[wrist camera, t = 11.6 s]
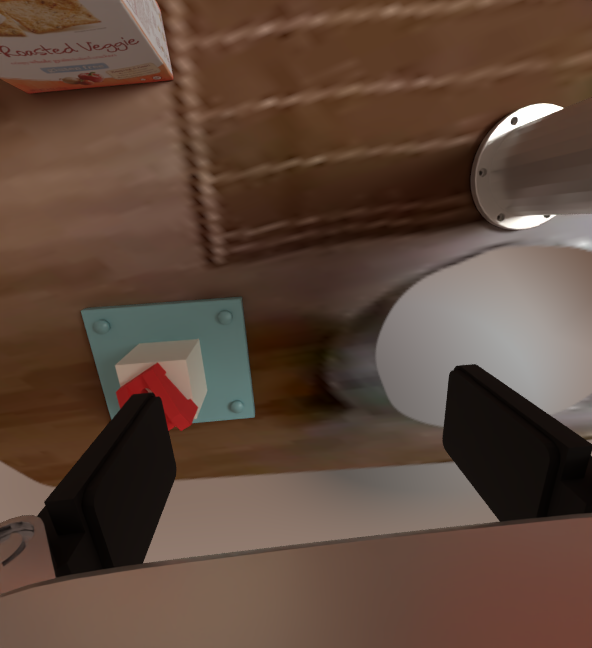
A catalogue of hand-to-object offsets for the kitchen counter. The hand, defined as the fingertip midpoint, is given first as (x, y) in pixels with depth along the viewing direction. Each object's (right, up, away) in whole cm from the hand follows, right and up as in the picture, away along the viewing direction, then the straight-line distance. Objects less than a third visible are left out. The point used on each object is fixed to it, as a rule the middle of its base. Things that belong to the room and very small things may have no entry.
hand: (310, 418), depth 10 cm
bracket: (-15, -5, +23) cm, 27 cm away
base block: (-15, -2, +28) cm, 32 cm away
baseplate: (-15, -2, +29) cm, 33 cm away
